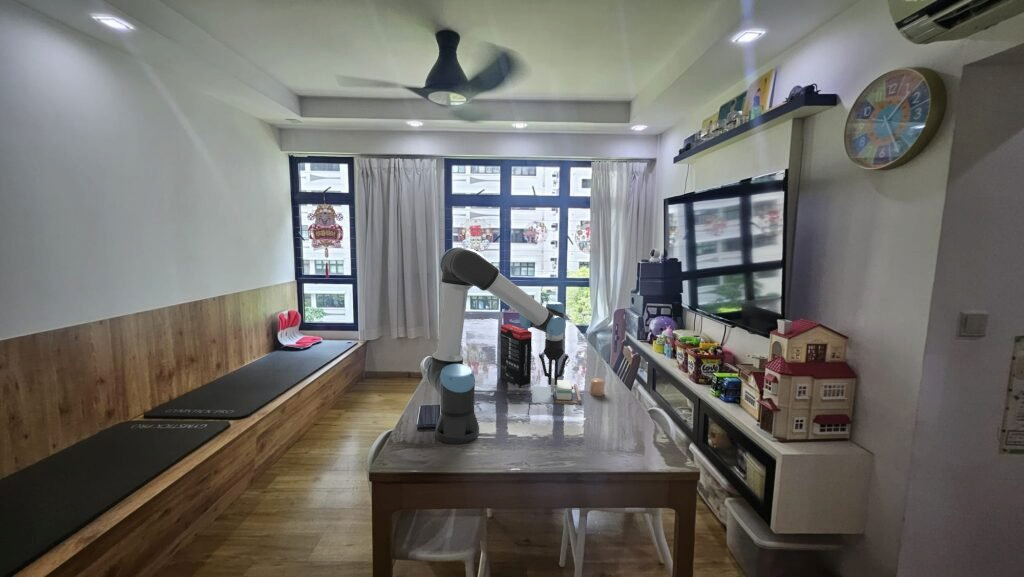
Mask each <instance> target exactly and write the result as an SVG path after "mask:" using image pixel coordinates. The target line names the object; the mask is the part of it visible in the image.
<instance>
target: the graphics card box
mask: <svg viewBox="0 0 1024 577" xmlns="http://www.w3.org/2000/svg"><path fill="white" fill-rule="evenodd" d="M532 334H533V333H532V331H529V330H528V329H527V330H526V328H523V327H519V326H516V325H513V324H501V325H500V360H499V361H500V362H499V363H500V367H499V369H500V370H499V372H500V375H499V376H500V378H501V379H502V380H504V381H505V382H507V383H509V384H511V385H513V386H515V387H516V388H519V389H523V388H528V387H532V386H531V385H532V384H531V382H532V379H531V376H532V338H533V335H532Z"/></svg>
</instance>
